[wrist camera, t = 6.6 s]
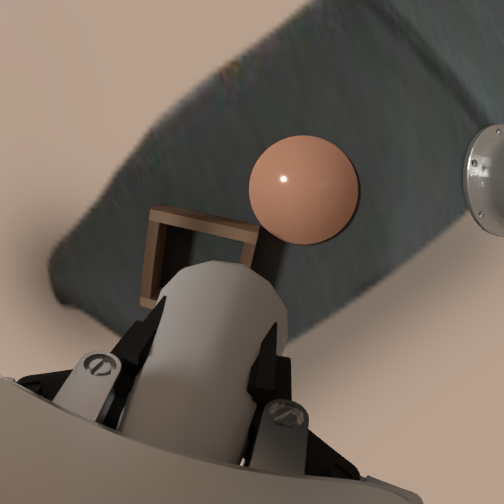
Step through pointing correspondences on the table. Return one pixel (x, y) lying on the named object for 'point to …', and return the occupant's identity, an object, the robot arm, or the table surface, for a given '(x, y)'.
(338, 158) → the orange round disc
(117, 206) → the table surface
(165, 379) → the salt shaker
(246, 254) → the square wooden frame
